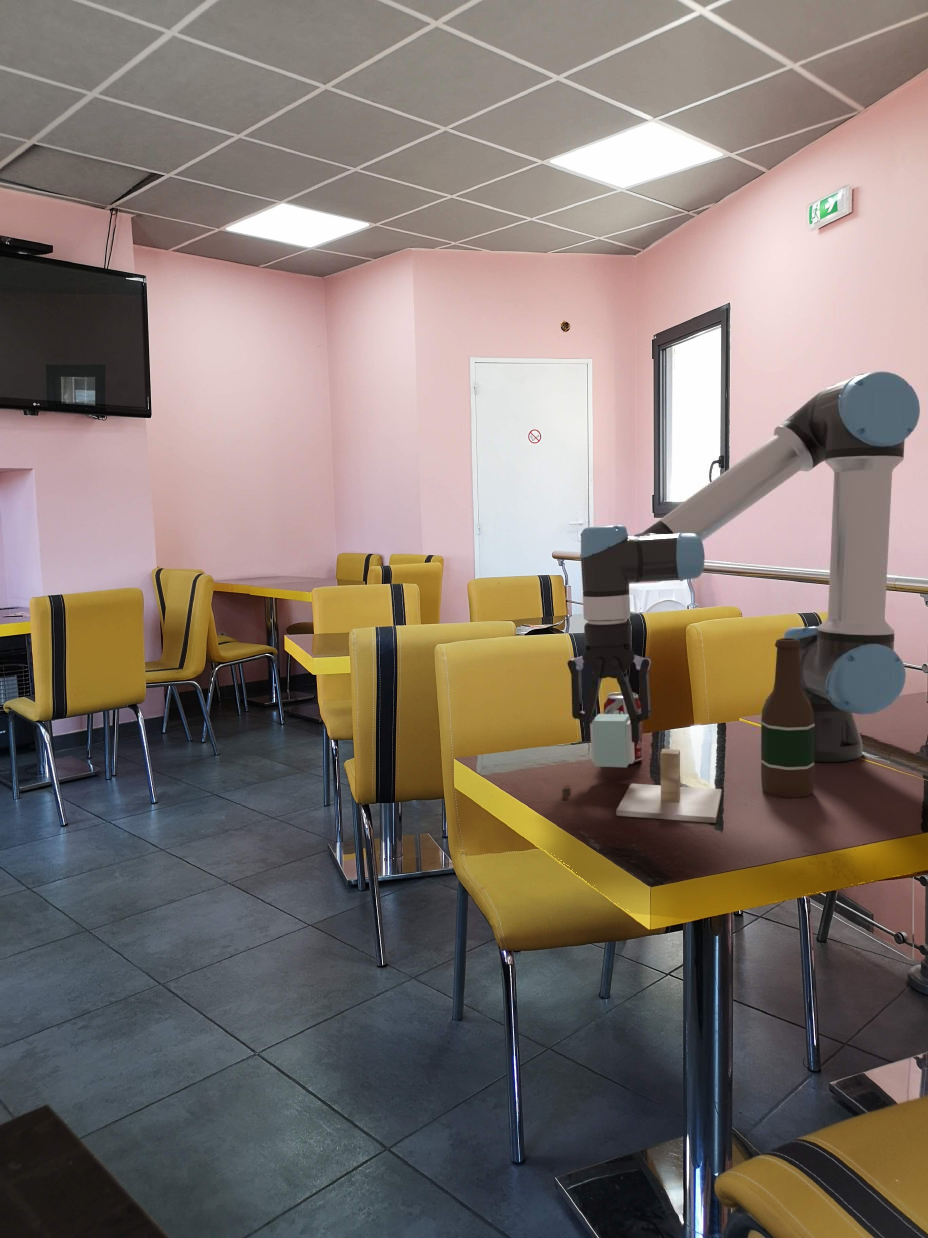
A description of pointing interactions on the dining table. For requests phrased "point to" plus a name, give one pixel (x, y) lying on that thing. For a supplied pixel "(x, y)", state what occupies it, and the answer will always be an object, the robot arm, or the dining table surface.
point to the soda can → (618, 706)
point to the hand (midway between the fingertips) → (613, 760)
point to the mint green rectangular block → (610, 740)
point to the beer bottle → (787, 729)
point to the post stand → (670, 796)
